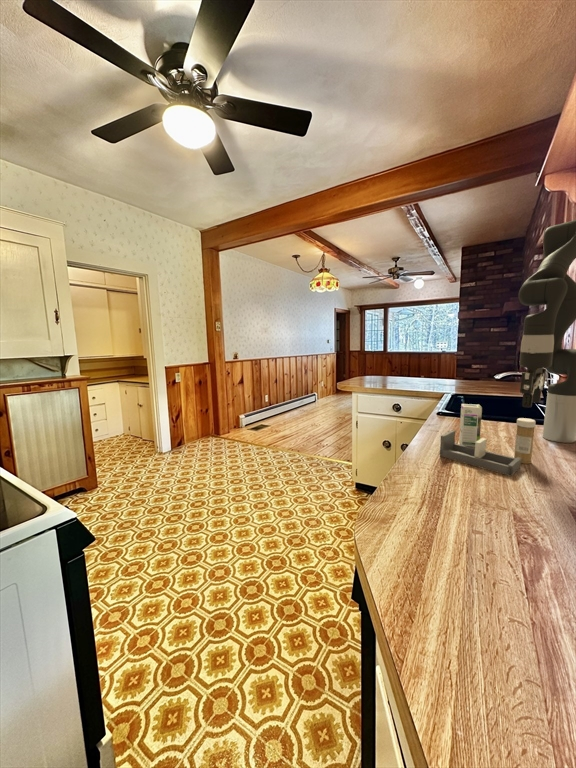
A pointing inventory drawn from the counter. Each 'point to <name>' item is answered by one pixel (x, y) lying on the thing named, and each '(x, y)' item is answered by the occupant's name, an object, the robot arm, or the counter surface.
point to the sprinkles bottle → (524, 439)
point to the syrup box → (470, 424)
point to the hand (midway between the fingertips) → (531, 404)
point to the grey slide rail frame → (467, 456)
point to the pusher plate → (480, 448)
